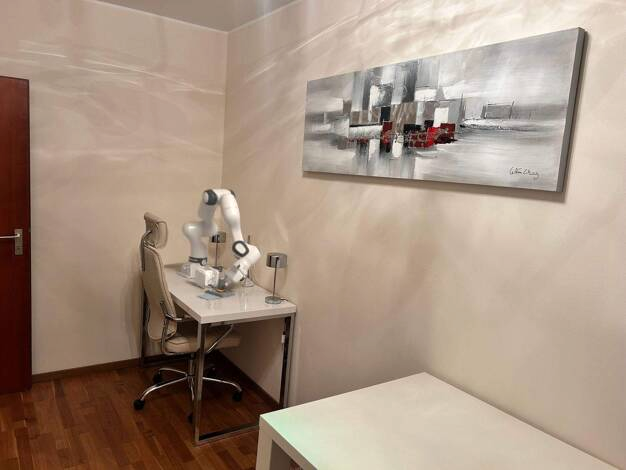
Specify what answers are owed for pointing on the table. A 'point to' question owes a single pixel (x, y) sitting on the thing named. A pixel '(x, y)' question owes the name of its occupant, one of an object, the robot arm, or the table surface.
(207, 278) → the cable organizer
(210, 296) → the mat
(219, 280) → the plug
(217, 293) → the socket block
